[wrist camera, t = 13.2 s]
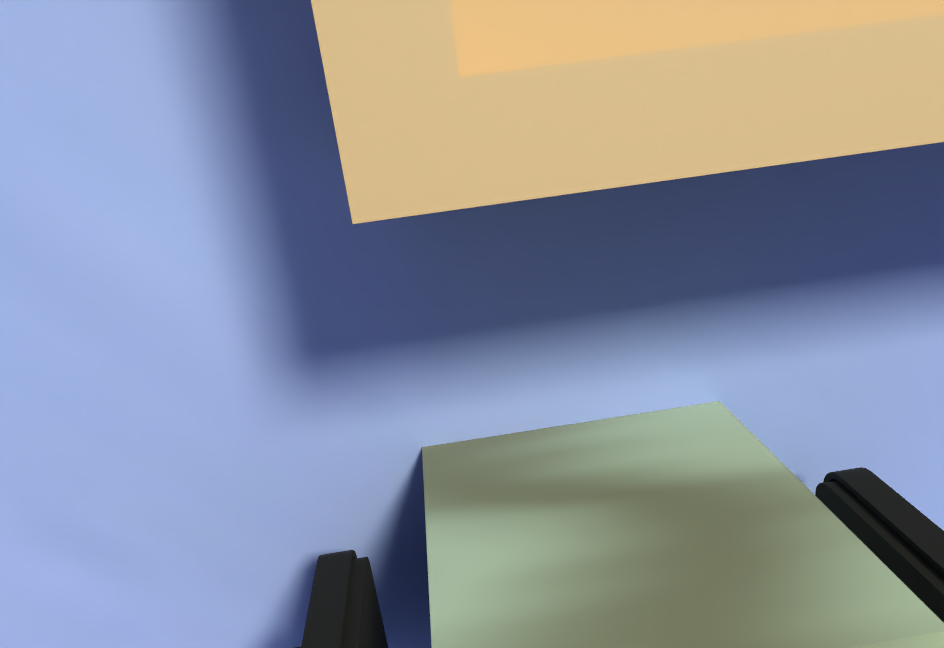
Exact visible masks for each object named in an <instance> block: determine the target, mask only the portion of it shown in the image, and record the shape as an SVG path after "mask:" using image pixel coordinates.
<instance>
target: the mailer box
mask: <svg viewBox="0 0 944 648" xmlns="http://www.w3.org/2000/svg"><path fill="white" fill-rule="evenodd" d="M311 3H312V9H313V14H314V20H315V25H316V30H317V36H318V41H319V46H320V52H321V57H322V62H323V68H324V73H325V78H326V84H327V89H328V95H329V100H330V105H331V111H332V116H333V121H334V127H335V132H336V137H337V143H338V148H339V153H340V159H341V164H342V169H343V175H344V180H345V186H346V191H347V196H348V202H349V207H350V212H351V218H352V223H353V224H357V223H364V222H371V221H378V220H386V219H393V218H400V217H407V216H414V215H422V214H429V213H436V212H443V211H450V210H457V209H465V208H472V207H479V206H486V205H493V204H501V203H508V202H515V201H522V200H529V199H537V198H544V197H551V196H558V195H565V194H573V193H580V192H587V191H594V190H601V189H608V188H616V187H623V186H630V185H637V184H644V183H652V182H659V181H666V180H673V179H680V178H688V177H695V176H702V175H709V174H716V173H723V172H731V171H738V170H745V169H752V168H759V167H767V166H774V165H781V164H788V163H795V162H803V161H810V160H817V159H824V158H831V157H838V156H846V155H853V154H860V153H867V152H874V151H882V150H889V149H896V148H903V147H910V146H918V145H925V144H932V143H939V142H944V0H311Z"/></svg>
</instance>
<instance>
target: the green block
mask: <svg viewBox="0 0 944 648" xmlns="http://www.w3.org/2000/svg"><path fill="white" fill-rule="evenodd" d="M422 458H423V479H424V500H425V520H426V541H427V562H428V582H429V603H430V624H431V644H432V648H944V623H943V622H942V621H941V620H940V619H939V618H938V617H937V616H936V615H935V614H934V613H933V612H932V611H931V610H930V609H929V608H928V607H927V606H926V605H925V604H924V603H923V602H922V601H921V600H920V599H919V598H918V597H917V596H916V595H915V594H914V593H913V592H912V591H911V590H910V589H909V588H908V587H907V586H906V585H905V584H904V583H903V582H902V581H901V580H900V579H899V578H898V577H897V576H896V575H895V574H894V573H893V572H892V571H891V570H890V569H889V568H888V567H887V566H886V565H885V564H884V563H883V562H882V561H881V560H880V559H879V558H878V557H877V556H876V555H875V554H874V553H873V552H872V551H871V550H870V549H869V548H868V547H867V546H866V545H865V544H864V543H863V542H862V541H861V540H859V539H858V538H857V537H856V536H855V535H854V534H853V533H852V532H851V531H850V530H849V529H848V528H847V527H846V526H845V525H844V524H843V523H842V522H841V521H840V520H839V519H838V518H837V517H836V516H835V515H834V514H833V513H832V512H831V511H830V510H829V509H828V508H827V507H826V506H825V505H824V504H823V503H822V502H821V501H820V500H819V499H818V498H817V497H816V496H815V495H814V494H813V493H812V492H811V491H810V490H809V489H808V488H807V487H806V486H805V485H804V484H803V483H802V482H801V481H800V480H799V479H798V478H797V477H796V476H795V475H794V474H793V473H792V472H791V471H790V470H789V469H788V468H787V467H786V466H785V465H784V464H783V463H782V462H781V461H780V460H779V459H778V458H777V457H776V456H775V455H774V454H773V453H772V452H771V451H770V450H769V449H768V448H767V447H766V446H765V445H764V444H763V443H762V442H761V441H760V440H758V439H757V438H756V437H755V436H754V435H753V434H752V433H751V432H750V431H749V430H748V429H747V428H746V427H745V426H744V425H743V424H742V423H741V422H740V421H739V420H738V419H737V418H736V417H735V416H734V415H733V414H732V413H731V412H730V411H729V410H728V409H727V408H726V407H725V406H724V405H723V404H722V403H721V402H720V401H717V402H711V403H704V404H698V405H691V406H685V407H678V408H672V409H666V410H659V411H653V412H646V413H640V414H634V415H627V416H621V417H614V418H608V419H601V420H595V421H589V422H582V423H576V424H569V425H563V426H557V427H550V428H544V429H537V430H531V431H524V432H518V433H512V434H505V435H499V436H492V437H486V438H480V439H473V440H467V441H460V442H454V443H447V444H441V445H435V446H428V447H422Z"/></svg>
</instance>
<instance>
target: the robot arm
mask: <svg viewBox="0 0 944 648" xmlns="http://www.w3.org/2000/svg"><path fill="white" fill-rule="evenodd" d="M815 496H816V497H817V498H818V499H819V500H820V501H821V502H822V503H823V504H824V505H825V506H826V507H827V508H828V509H829V510H830V511H831V512H832V513H833V514H834V515H835V516H836V517H837V518H838V519H839V520H840V521H841V522H842V523H843V524H844V525H845V526H846V527H847V528H848V529H849V530H850V531H851V532H852V533H853V534H854V535H855V536H856V537H857V538H858V539H859V540H861V541H862V542H863V543H864V544H865V545H866V546H867V547H868V548H869V549H870V550H871V551H872V552H873V553H874V554H875V555H876V556H877V557H878V558H879V559H880V560H881V561H882V562H883V563H884V564H885V565H886V566H887V567H888V568H889V569H890V570H891V571H892V572H893V573H894V574H895V575H896V576H897V577H898V578H899V579H900V580H901V581H902V582H903V583H904V584H905V585H906V586H907V587H908V588H909V589H910V590H911V591H912V592H913V593H914V594H915V595H916V596H917V597H918V598H919V599H920V600H921V601H922V602H923V603H924V604H925V605H926V606H927V607H928V608H929V609H930V610H931V611H932V612H933V613H934V614H935V615H936V616H937V617H938V618H939V619H940V620H941V621H942V622H943V623H944V531H943V530H942V529H941V528H939V527H938V526H937V525H936V524H934V523H933V522H932V521H931V520H930V519H928V518H927V517H926V516H925V515H923V514H922V513H921V512H920V511H919V510H917V509H916V508H915V507H914V506H913V505H911V504H910V503H909V502H908V501H906V500H905V499H904V498H903V497H902V496H900V495H899V494H898V493H897V492H895V491H894V490H893V489H892V488H891V487H889V486H888V485H887V484H886V483H885V482H883V481H882V480H881V479H880V478H878V477H877V476H876V475H875V474H874V473H872V472H871V471H869V470H868V469H866V468H855V469H849V470H842V471H836V472H830V473H828V474H827V475H826V476H825V478H824V482H823V483H820V484H818V486H817V487H816V494H815ZM296 648H388V645H387V640H386V636H385V631H384V626H383V622H382V617H381V612H380V608H379V603H378V599H377V594H376V589H375V585H374V580H373V576H372V571H371V566H370V562H369V559H368V557H364V558H357V556H356V553H355V551H354V550H349V551H343V552H337V553H330V554H324V555H320V556H319V558H318V561H317V566H316V572H315V577H314V582H313V587H312V593H311V598H310V603H309V609H308V614H307V619H306V625H305V630H304V635H303V640H302V646H301V647H296Z"/></svg>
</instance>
